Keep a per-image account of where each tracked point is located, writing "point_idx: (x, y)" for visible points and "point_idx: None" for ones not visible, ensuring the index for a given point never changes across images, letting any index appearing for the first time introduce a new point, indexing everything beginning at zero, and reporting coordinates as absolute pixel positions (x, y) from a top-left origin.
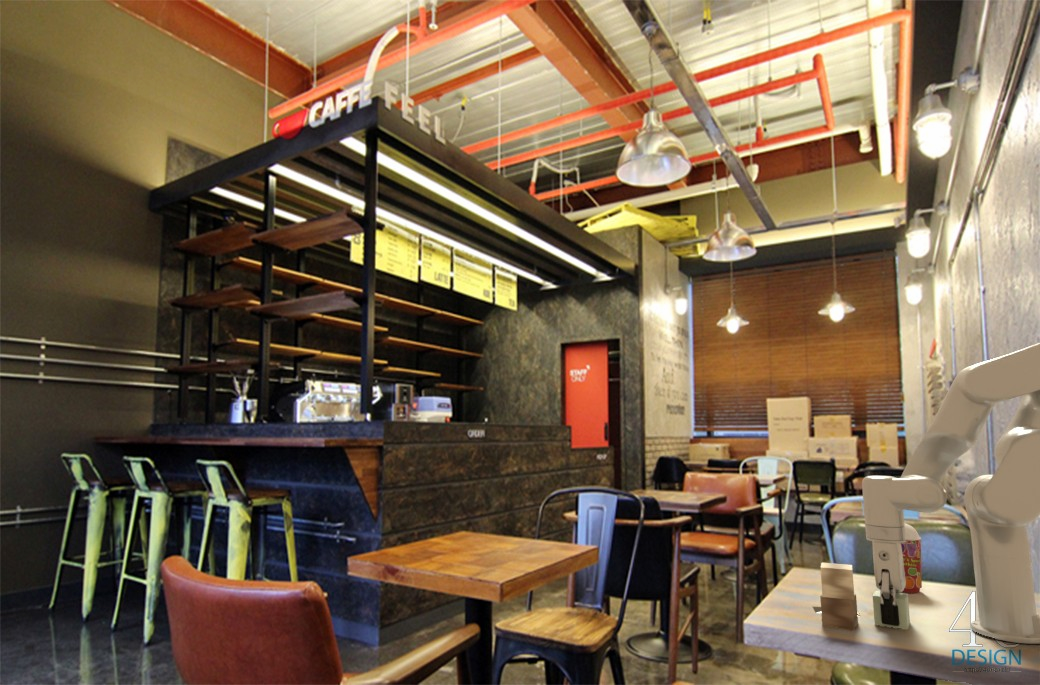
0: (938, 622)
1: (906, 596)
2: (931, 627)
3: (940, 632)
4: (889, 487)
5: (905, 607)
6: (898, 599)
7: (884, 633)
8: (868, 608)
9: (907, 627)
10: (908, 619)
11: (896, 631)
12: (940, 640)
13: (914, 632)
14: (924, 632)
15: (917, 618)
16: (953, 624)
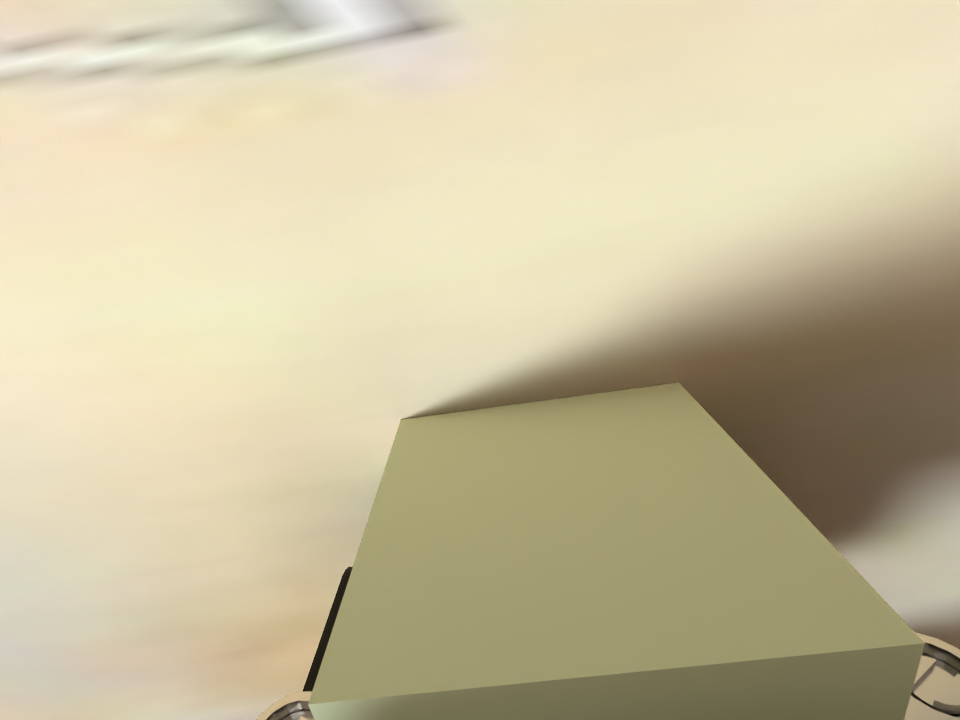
0: (122, 216)
1: (557, 681)
2: (408, 230)
3: (561, 102)
4: None
5: (817, 533)
6: (890, 715)
7: (917, 492)
8: (194, 716)
9: (687, 393)
10: (527, 435)
11: (793, 440)
12: (942, 22)
13: (736, 317)
14: (675, 243)
15: (158, 408)
16: (47, 51)
